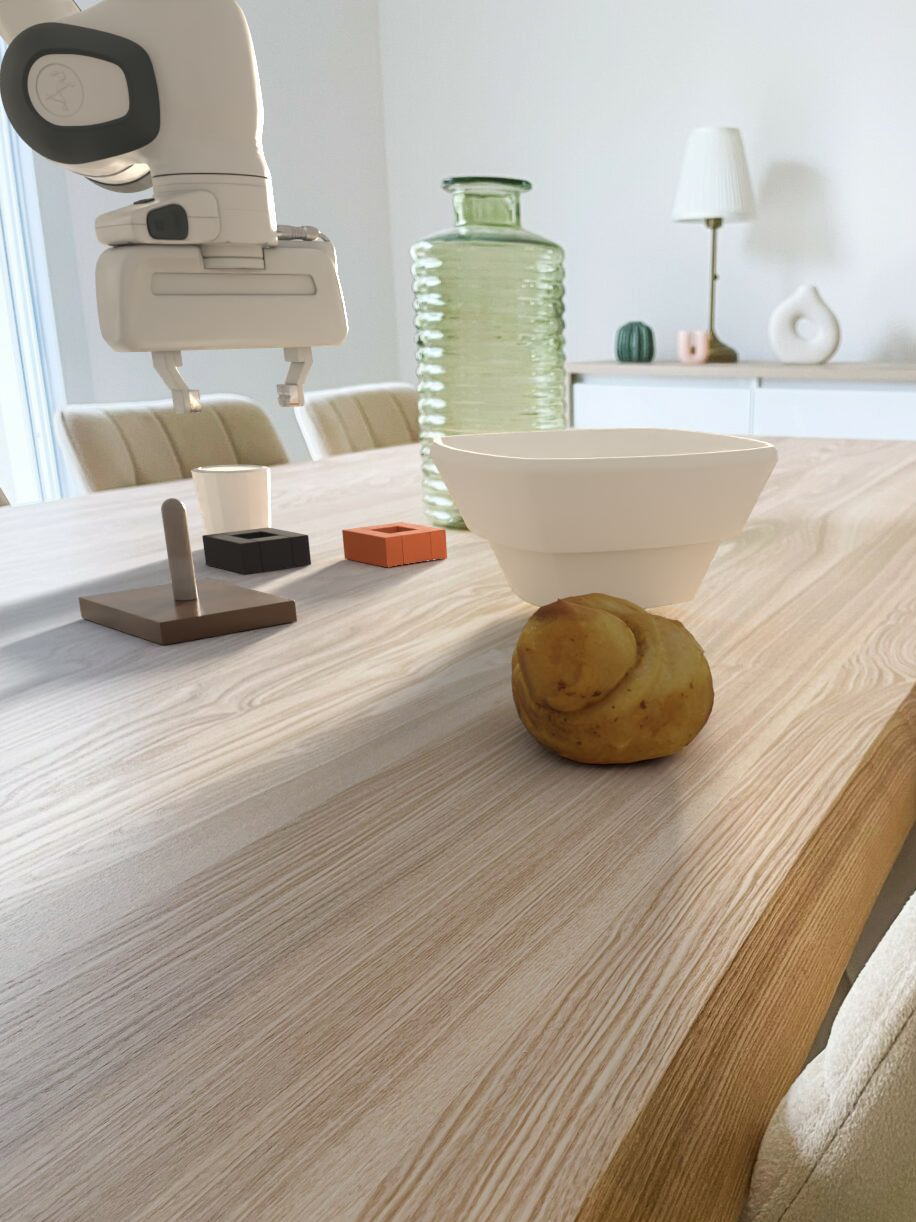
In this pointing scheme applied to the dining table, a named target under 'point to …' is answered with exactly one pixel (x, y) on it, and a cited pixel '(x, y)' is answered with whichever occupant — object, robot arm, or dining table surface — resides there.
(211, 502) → the cream cup
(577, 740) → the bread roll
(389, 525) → the terracotta pad
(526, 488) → the bowl
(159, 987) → the dining table surface
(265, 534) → the charcoal square ring
